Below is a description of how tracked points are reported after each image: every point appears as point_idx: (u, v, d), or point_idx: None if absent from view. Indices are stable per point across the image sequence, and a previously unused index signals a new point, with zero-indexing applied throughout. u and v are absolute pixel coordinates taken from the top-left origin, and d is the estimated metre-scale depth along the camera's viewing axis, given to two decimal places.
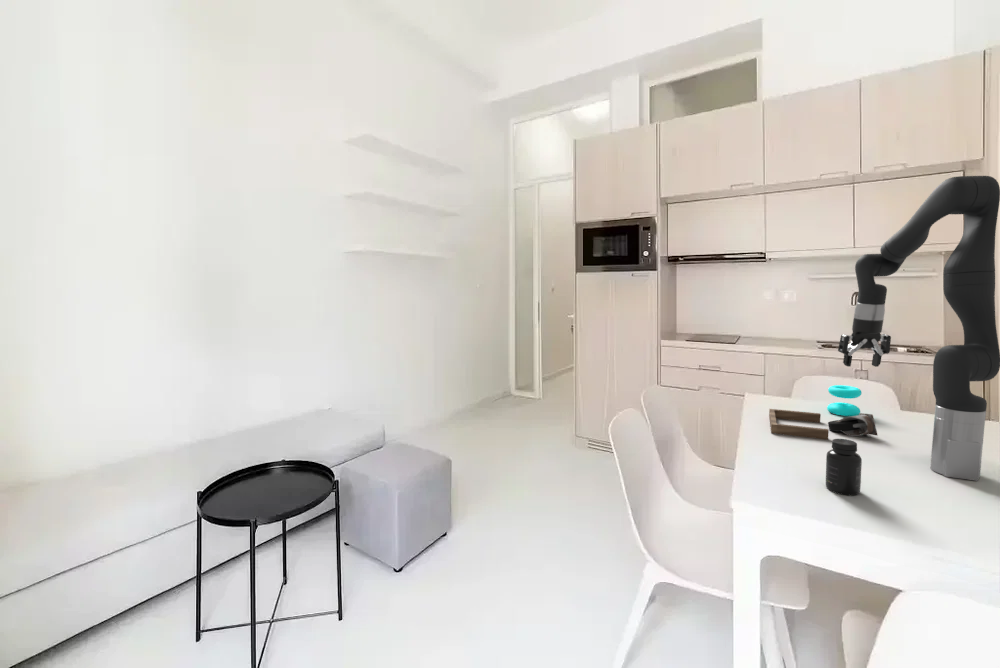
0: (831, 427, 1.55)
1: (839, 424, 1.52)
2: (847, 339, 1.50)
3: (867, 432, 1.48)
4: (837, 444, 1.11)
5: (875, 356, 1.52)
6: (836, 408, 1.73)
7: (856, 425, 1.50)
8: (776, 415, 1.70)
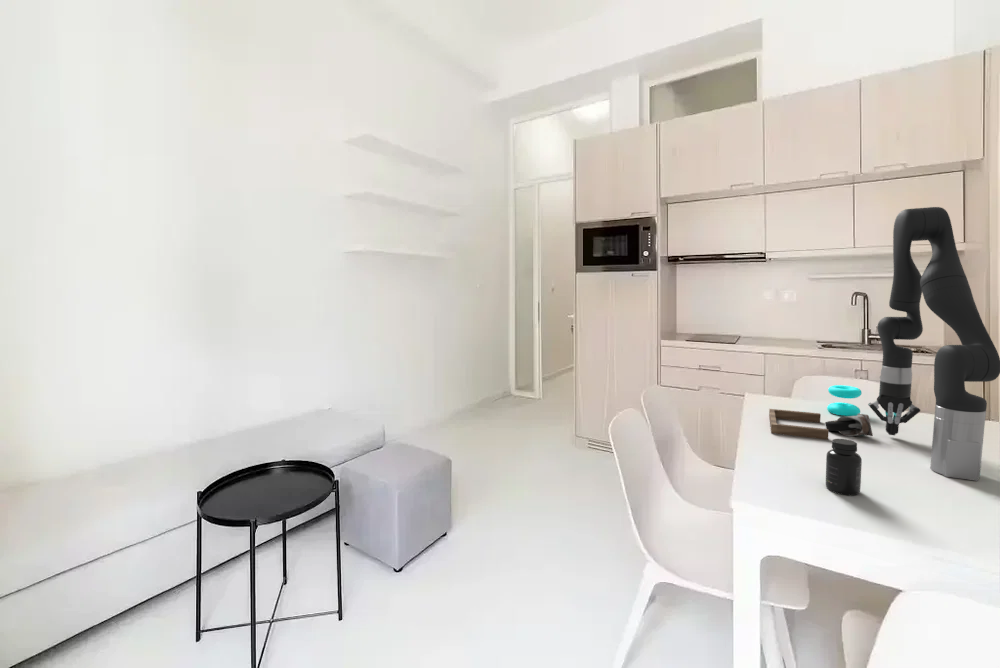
0: (827, 427, 1.55)
1: (835, 424, 1.52)
2: (873, 407, 1.48)
3: (862, 432, 1.47)
4: (837, 444, 1.11)
5: None
6: (836, 408, 1.73)
7: (852, 425, 1.50)
8: (776, 415, 1.70)
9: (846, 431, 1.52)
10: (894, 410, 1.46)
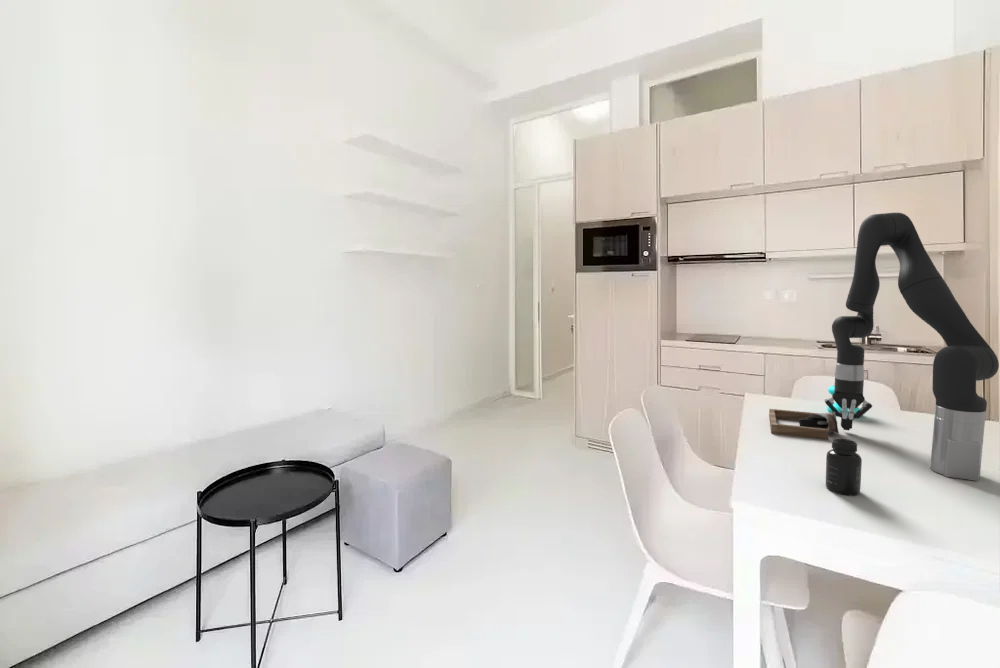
0: (799, 423, 1.59)
1: (804, 420, 1.56)
2: (829, 403, 1.54)
3: (829, 429, 1.51)
4: (837, 444, 1.11)
5: None
6: (836, 408, 1.73)
7: (820, 422, 1.53)
8: (776, 415, 1.70)
9: None
10: (848, 406, 1.52)
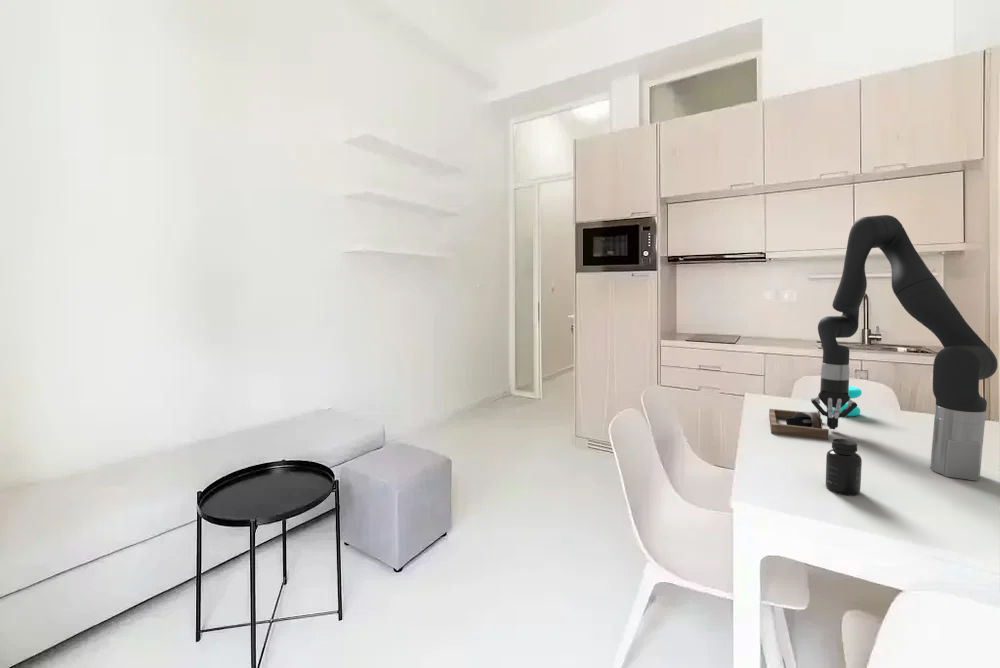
0: (786, 421, 1.61)
1: (790, 418, 1.59)
2: (815, 403, 1.55)
3: None
4: (838, 444, 1.11)
5: None
6: None
7: (806, 421, 1.55)
8: (776, 415, 1.70)
9: None
10: (834, 405, 1.53)
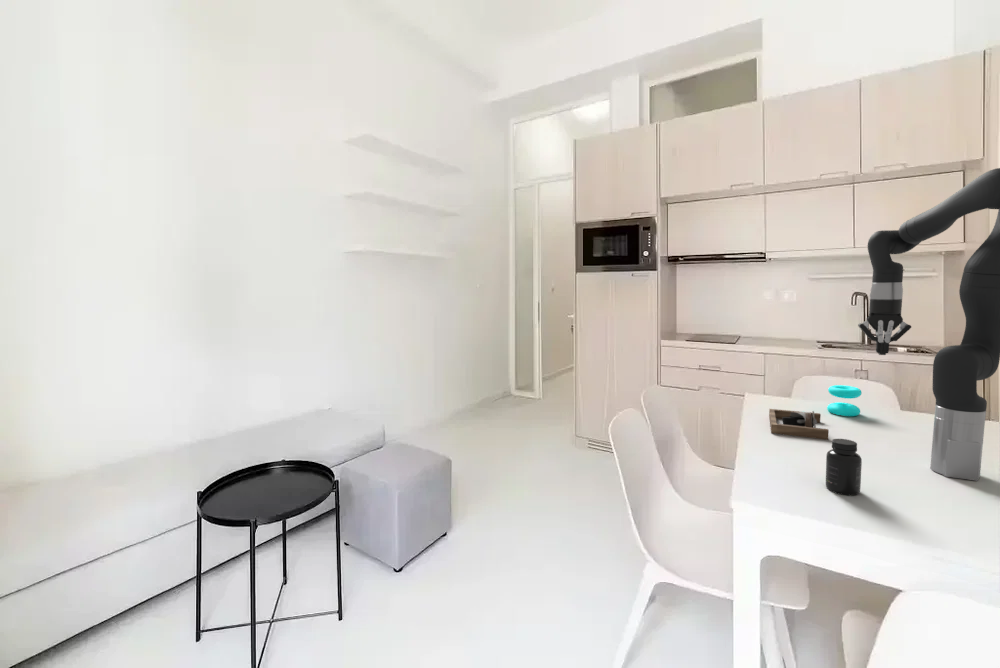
0: None
1: (785, 418, 1.59)
2: (863, 327, 1.43)
3: None
4: (837, 444, 1.11)
5: None
6: (836, 408, 1.73)
7: (800, 421, 1.56)
8: (776, 415, 1.70)
9: None
10: (884, 328, 1.41)
